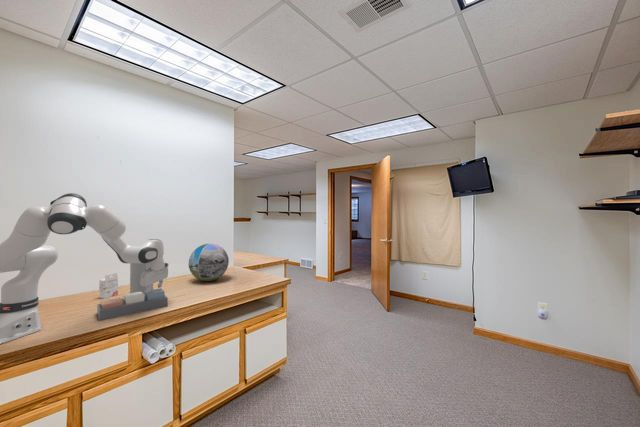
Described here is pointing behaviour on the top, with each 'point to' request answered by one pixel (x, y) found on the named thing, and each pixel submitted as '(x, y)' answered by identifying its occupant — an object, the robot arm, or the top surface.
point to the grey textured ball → (208, 262)
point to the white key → (133, 298)
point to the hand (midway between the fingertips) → (154, 289)
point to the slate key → (154, 294)
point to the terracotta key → (111, 303)
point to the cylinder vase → (137, 278)
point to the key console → (131, 308)
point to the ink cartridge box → (108, 286)
